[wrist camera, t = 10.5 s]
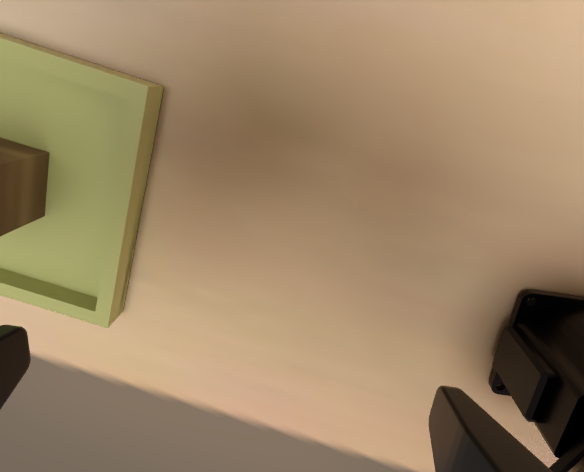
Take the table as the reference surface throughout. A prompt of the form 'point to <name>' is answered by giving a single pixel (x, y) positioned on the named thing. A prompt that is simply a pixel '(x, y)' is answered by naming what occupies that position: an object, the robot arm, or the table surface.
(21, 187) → the walnut stick
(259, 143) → the table surface
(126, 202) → the olive tray
